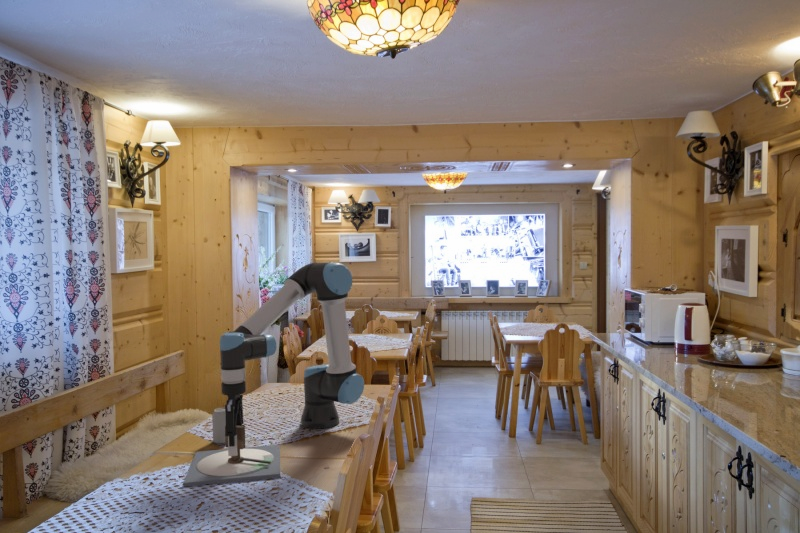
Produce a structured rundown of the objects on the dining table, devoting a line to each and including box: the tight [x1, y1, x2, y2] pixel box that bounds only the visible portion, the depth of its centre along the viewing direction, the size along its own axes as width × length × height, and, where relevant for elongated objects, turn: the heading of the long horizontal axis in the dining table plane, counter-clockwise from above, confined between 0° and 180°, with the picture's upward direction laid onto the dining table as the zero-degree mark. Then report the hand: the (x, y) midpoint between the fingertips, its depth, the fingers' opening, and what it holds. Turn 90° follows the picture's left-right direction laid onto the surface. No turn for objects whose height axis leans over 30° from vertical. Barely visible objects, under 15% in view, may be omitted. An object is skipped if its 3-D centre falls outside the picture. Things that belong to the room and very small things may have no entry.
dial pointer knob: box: [224, 425, 271, 464], centre depth 193 cm, size 5×16×11 cm, turn 69°
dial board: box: [183, 444, 281, 488], centre depth 195 cm, size 28×28×2 cm
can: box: [211, 406, 226, 445], centre depth 220 cm, size 8×8×12 cm
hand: (235, 451), depth 195 cm, fingers open, 6 cm apart
